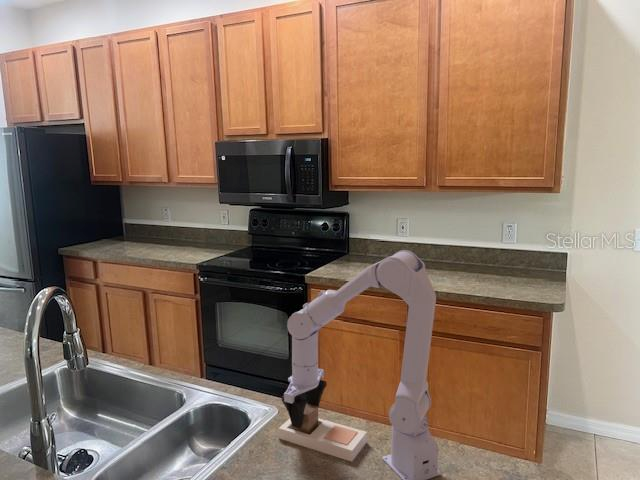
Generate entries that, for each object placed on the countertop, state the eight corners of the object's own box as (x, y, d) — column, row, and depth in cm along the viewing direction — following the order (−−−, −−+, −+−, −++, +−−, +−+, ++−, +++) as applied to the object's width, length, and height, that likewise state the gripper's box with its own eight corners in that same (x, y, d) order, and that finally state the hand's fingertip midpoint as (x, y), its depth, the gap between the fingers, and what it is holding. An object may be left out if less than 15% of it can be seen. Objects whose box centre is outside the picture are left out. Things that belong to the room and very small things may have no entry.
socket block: (366, 442, 105) (366, 431, 104) (351, 461, 98) (352, 449, 97) (296, 421, 113) (296, 411, 113) (278, 438, 106) (278, 427, 106)
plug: (318, 433, 109) (318, 406, 108) (308, 442, 105) (308, 415, 104) (301, 428, 111) (301, 402, 110) (291, 437, 107) (291, 410, 106)
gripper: (305, 348, 113) (305, 401, 115) (271, 370, 101) (272, 429, 103) (331, 353, 110) (331, 408, 112) (300, 377, 97) (300, 438, 99)
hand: (305, 419), depth 107 cm, fingers open, 7 cm apart
